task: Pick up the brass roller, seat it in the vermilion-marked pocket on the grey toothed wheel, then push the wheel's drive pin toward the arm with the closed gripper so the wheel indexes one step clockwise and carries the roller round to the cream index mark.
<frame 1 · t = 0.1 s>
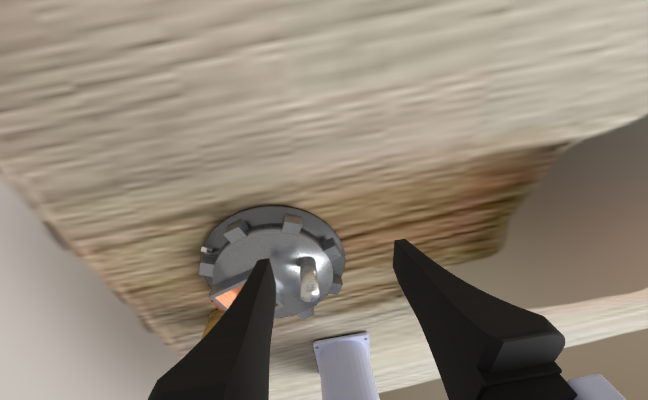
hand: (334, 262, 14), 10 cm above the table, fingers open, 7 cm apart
base flange: (276, 265, 26), on the table
grey toothed wheel: (273, 290, 23), point 3 cm above the table, hinge at 0.0°
roller: (222, 317, 30), on the table
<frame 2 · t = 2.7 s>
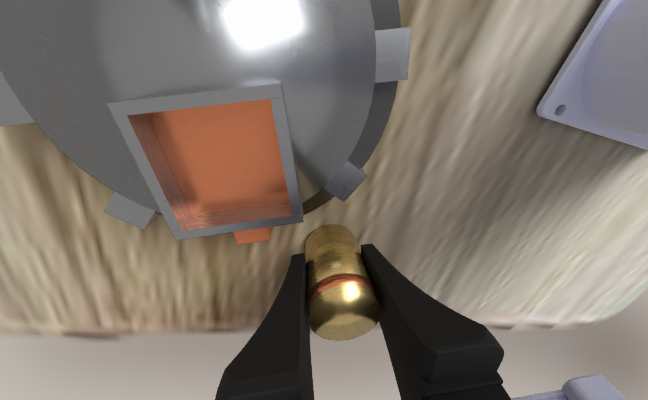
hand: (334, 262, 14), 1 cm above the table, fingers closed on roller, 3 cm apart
base flange: (219, 75, 10), on the table
grey toothed wheel: (189, 78, 7), point 3 cm above the table, hinge at 0.0°
roller: (330, 246, 15), on the table, touching gripper
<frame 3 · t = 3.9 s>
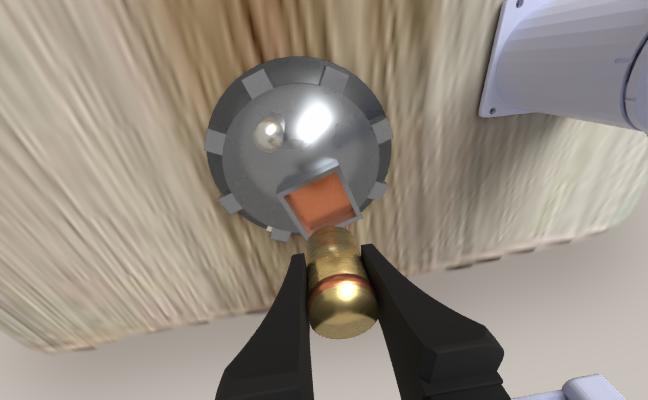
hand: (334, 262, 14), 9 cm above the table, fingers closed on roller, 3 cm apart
base flange: (302, 160, 21), on the table
grey toothed wheel: (304, 175, 18), point 3 cm above the table, hinge at 0.0°
roller: (330, 246, 15), point 8 cm above the table, touching gripper
when the fingers open (4 cm above the table, at t = 5.2 s): roller stays where it is, resting on grey toothed wheel.
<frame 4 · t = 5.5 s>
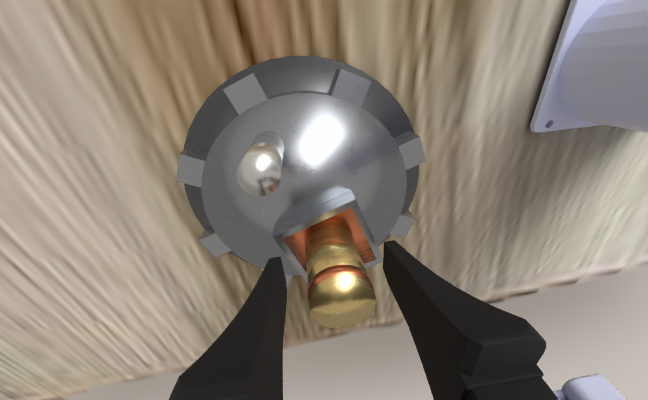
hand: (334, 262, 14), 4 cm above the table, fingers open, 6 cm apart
base flange: (307, 187, 16), on the table
grey toothed wheel: (310, 213, 13), point 3 cm above the table, hinge at 0.0°, touching roller
roller: (329, 241, 16), point 2 cm above the table, touching grey toothed wheel
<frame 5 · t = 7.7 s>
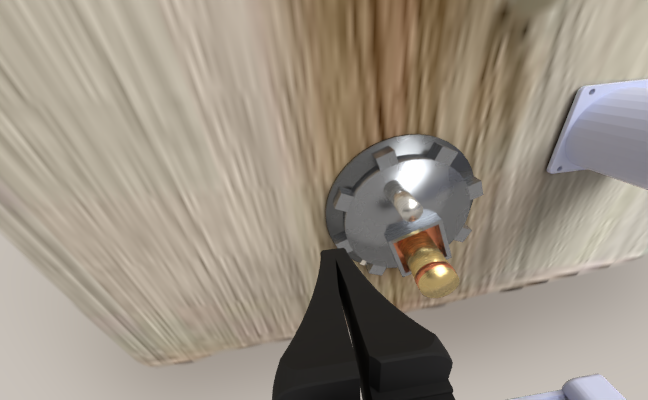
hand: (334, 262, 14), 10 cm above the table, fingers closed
base flange: (399, 209, 25), on the table
grey toothed wheel: (413, 228, 22), point 3 cm above the table, hinge at 0.0°, touching roller
roller: (415, 244, 24), point 2 cm above the table, touching grey toothed wheel
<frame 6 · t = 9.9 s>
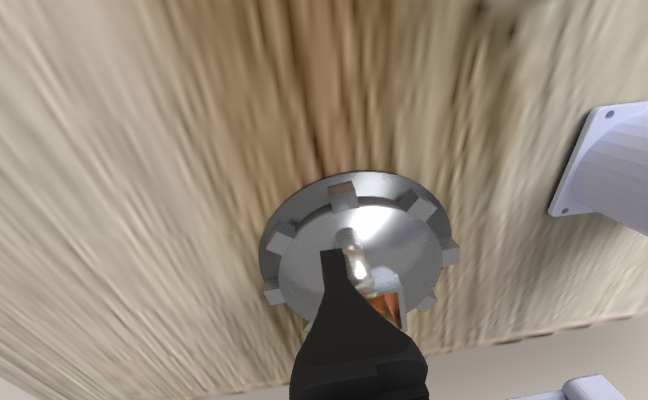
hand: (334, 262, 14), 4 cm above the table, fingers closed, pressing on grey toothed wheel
base flange: (355, 258, 19), on the table
grey toothed wheel: (365, 292, 17), point 3 cm above the table, hinge at -12.1°, touching gripper, roller
roller: (366, 308, 19), point 2 cm above the table, touching grey toothed wheel
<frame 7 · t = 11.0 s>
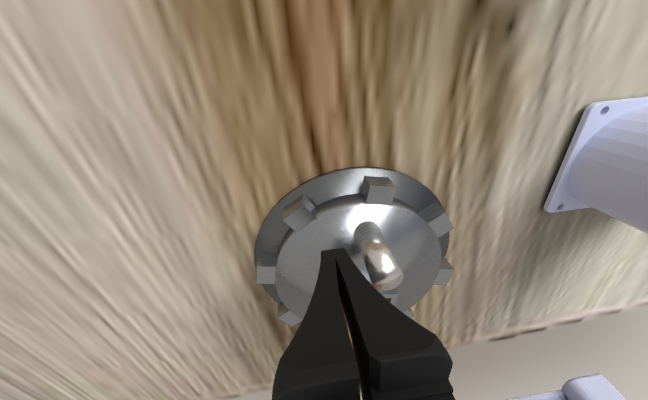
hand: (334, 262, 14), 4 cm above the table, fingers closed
base flange: (353, 256, 19), on the table
grey toothed wheel: (364, 290, 16), point 3 cm above the table, hinge at -32.0°, touching roller
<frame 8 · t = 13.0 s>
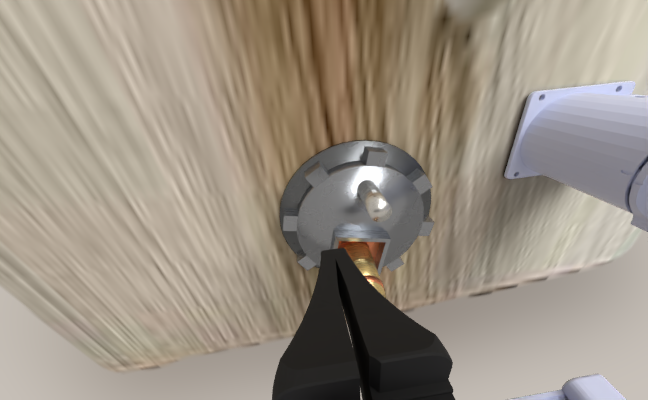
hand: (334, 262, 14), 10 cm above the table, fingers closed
base flange: (356, 214, 24), on the table
grey toothed wheel: (364, 234, 21), point 3 cm above the table, hinge at -32.0°, touching roller
roller: (354, 254, 24), point 2 cm above the table, touching grey toothed wheel
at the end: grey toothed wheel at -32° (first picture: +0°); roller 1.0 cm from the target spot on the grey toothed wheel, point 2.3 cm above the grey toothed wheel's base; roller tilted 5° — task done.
